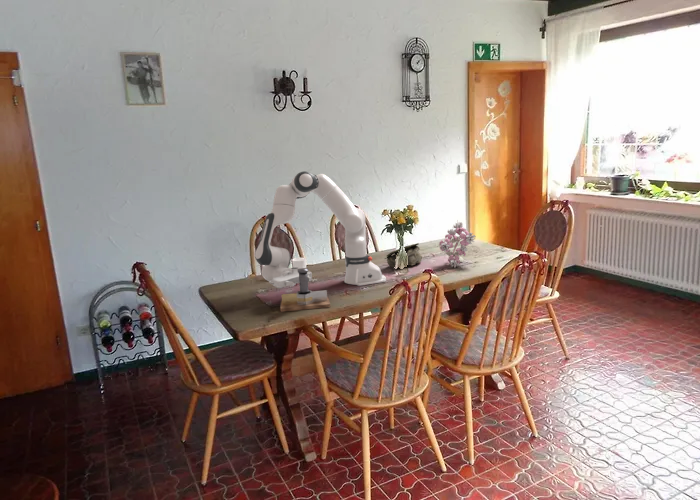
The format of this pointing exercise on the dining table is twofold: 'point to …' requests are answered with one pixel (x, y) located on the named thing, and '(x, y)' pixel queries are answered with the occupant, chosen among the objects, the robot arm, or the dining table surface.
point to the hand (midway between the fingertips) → (302, 282)
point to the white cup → (299, 262)
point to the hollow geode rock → (411, 253)
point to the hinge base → (305, 306)
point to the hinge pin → (303, 280)
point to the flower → (447, 244)
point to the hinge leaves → (304, 297)
